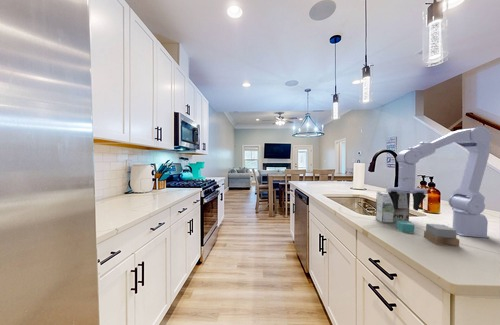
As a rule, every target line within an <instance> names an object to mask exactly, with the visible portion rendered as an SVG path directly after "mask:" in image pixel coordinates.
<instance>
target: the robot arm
mask: <svg viewBox="0 0 500 325" xmlns="http://www.w3.org/2000/svg"><path fill="white" fill-rule="evenodd" d="M492 135H493V134H492V132H491V131H489V129H488V128H487V127H485V126H477V127H471V128H464V129H462V128H461V129H457V130H455V131H451V132H449V133H447V134H446V135H443V136H441V137H439V138H437V139H435V140H433V141H431V142H429V141H420V142H419V143H418V144H417V145H415V146H412V147H411V146H410V147H408V149H407V150H401V151H400V152H398V154H397V156H396V157H395V159H396V162H397V163H398V182H397V185H398V186H396V187H395V186H394V187H393V186H391V187H386V192H388V194H389V196H390V198H391V200H392V203H393V207H394V209H398V200H399V196H400V195H399V194H398V193H397V192H400V193H410V194H412V200H413V201H412V202H413V203H412V206H413V207H412V208H413V210H414V211H419V210H420V209H419V208H420V207H421V204H422V202H423V201H424V199H425V198H426V195H428V189H426V188H417V187H416V170H417V169H416V168H417V166H416V165H417V163H419V162H420V160H421V159H424V158H427V157H428V156H431V155H433V154H435V153H436V150H437V149H440V148H443V147H446V146H447V145H450V144H453V143H455V144H457V145H458V146H460V147H462V148H464V149H466V150H467V151H468V156H467V161H466V164H465V167H464V168H465V169H464V172H463V175H462V178H461V181H460V186H459V188H457V189H455V190H453V192H452V195H450V197H449V199H448V204H449V206H450V208H451V210H452V211H453V212H452V228H453V229H455V230H457V234H456V235H459V236H461V237H474V238H475V237H476V238H490V237H489V236H488V219H487V217H486V215H485V214H482V213H483V212H484V211H485V208H486V204H485V199H486V198H485V196H484V195H483V194H482V193H481V192H480V189H481V185H482V181H483V179H484V175H485V171H486V168H487V164H488V160H489V157H490V154H491V140H492ZM407 191H410V192H407Z"/></svg>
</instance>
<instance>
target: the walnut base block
mask: <svg viewBox="0 0 500 325" xmlns="http://www.w3.org/2000/svg"><path fill="white" fill-rule="evenodd" d="M423 238H425V240H428V241H430V242H431V243H433V244H435V245H437V246H446V247H458V246H459V247H460V239H459V238H457V237H456V238H444V237H436V236H434V235H433V234H431V233H429V232H427V231H426V230H423Z"/></svg>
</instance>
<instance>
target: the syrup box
mask: <svg viewBox="0 0 500 325" xmlns="http://www.w3.org/2000/svg"><path fill="white" fill-rule="evenodd" d="M375 202H376V203H375V204H376V205H375V206H376V207H375V220H376V221H379V222H380V223H386V224H387V223H388V224H390V223H391V224H395V222H394V207H393V203H392V200H391V198H390V196H389V194H388V192H387V191H376V201H375Z"/></svg>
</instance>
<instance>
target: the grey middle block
mask: <svg viewBox="0 0 500 325" xmlns="http://www.w3.org/2000/svg"><path fill="white" fill-rule="evenodd" d="M425 231H427V232H429V233H431V234H433V235H434V236H436V237H444V238H457V235H458V234H457V230H455V229H453V227H450V226H448V225H445V224H439V223H438V224H437V223H436V224H435V223H426V226H425Z"/></svg>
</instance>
